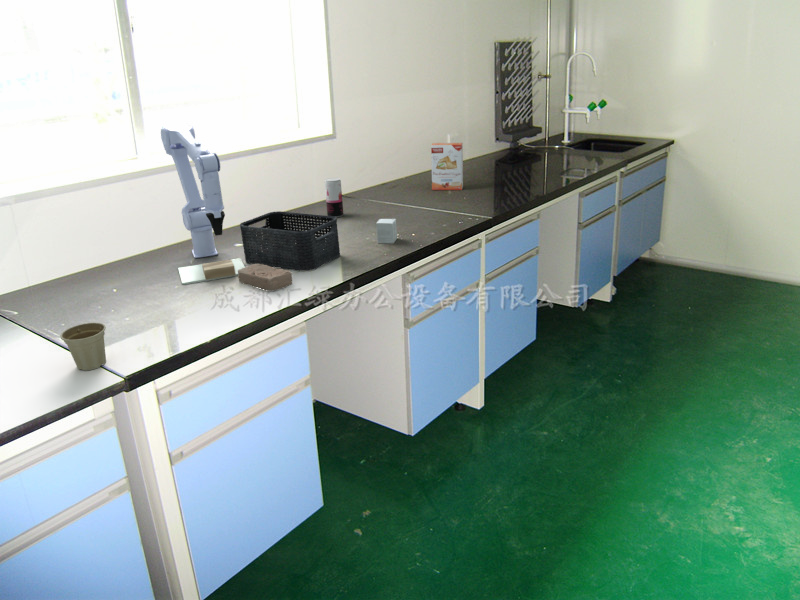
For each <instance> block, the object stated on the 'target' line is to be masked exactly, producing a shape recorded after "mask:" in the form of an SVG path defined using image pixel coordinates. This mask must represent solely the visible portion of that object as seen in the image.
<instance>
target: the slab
mask: <svg viewBox="0 0 800 600" xmlns="http://www.w3.org/2000/svg"><path fill="white" fill-rule="evenodd" d="M201 264H202V267H203V273H204V276H205V278H206V280H207V279H213V278H219V277H225V276H231V275H236V274H235V268H234V264H233V262H232V261H231V259H224V260H219V261H213V262H207V263H205V262H204V263H201Z"/></svg>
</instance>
